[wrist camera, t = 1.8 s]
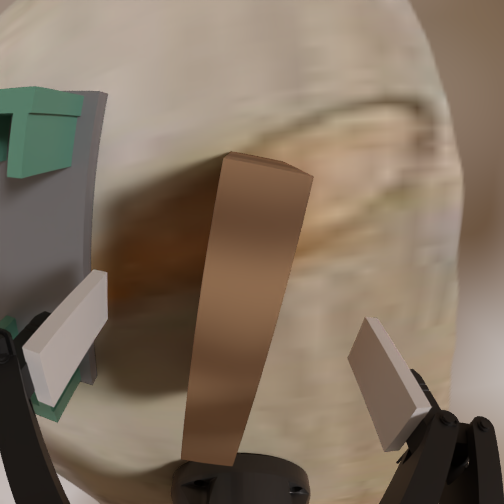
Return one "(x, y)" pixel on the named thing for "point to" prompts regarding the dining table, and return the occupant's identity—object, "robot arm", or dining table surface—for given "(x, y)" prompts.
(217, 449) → the slat
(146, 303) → the dining table surface
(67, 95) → the cradle
